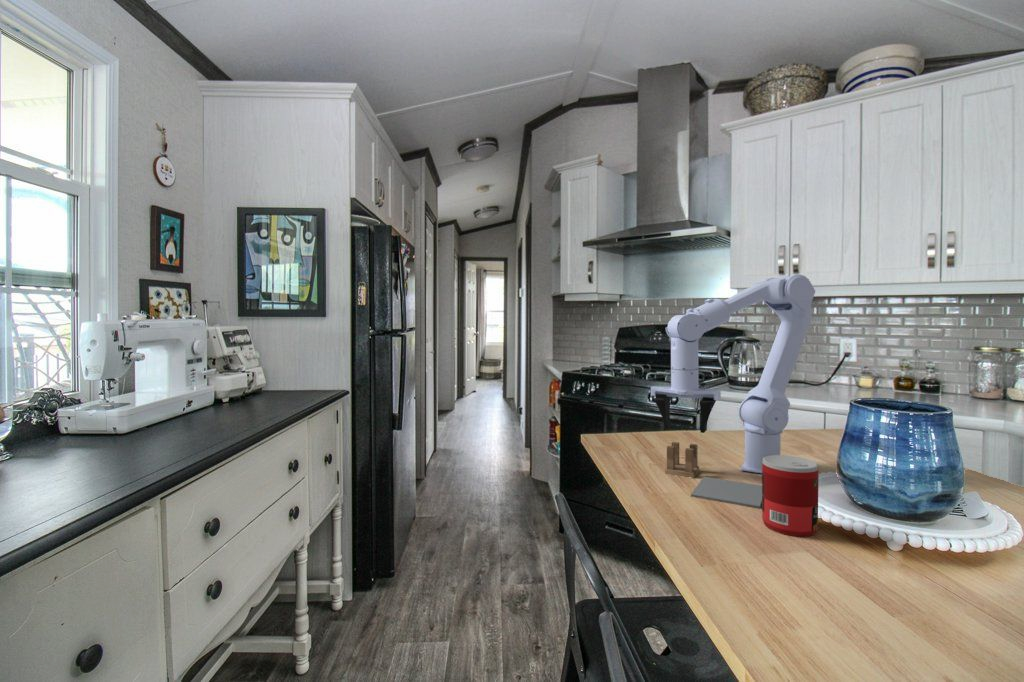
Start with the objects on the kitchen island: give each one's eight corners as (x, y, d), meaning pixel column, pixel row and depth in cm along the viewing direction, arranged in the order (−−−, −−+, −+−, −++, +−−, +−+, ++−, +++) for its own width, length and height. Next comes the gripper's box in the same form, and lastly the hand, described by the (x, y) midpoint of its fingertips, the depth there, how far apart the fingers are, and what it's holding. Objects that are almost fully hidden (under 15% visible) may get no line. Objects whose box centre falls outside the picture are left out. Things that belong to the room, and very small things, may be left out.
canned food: (826, 539, 74) (827, 469, 74) (770, 535, 76) (770, 467, 75) (806, 519, 82) (807, 455, 81) (756, 516, 83) (756, 453, 83)
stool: (672, 467, 112) (672, 441, 111) (699, 471, 108) (699, 444, 108) (665, 474, 107) (665, 447, 106) (693, 479, 103) (693, 450, 103)
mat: (703, 478, 103) (703, 476, 103) (766, 488, 97) (766, 486, 97) (690, 496, 93) (690, 494, 93) (759, 508, 87) (759, 506, 87)
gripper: (646, 369, 106) (646, 430, 106) (716, 372, 98) (716, 437, 99) (655, 366, 112) (655, 423, 112) (722, 368, 104) (722, 430, 105)
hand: (684, 429), depth 106 cm, fingers open, 7 cm apart
